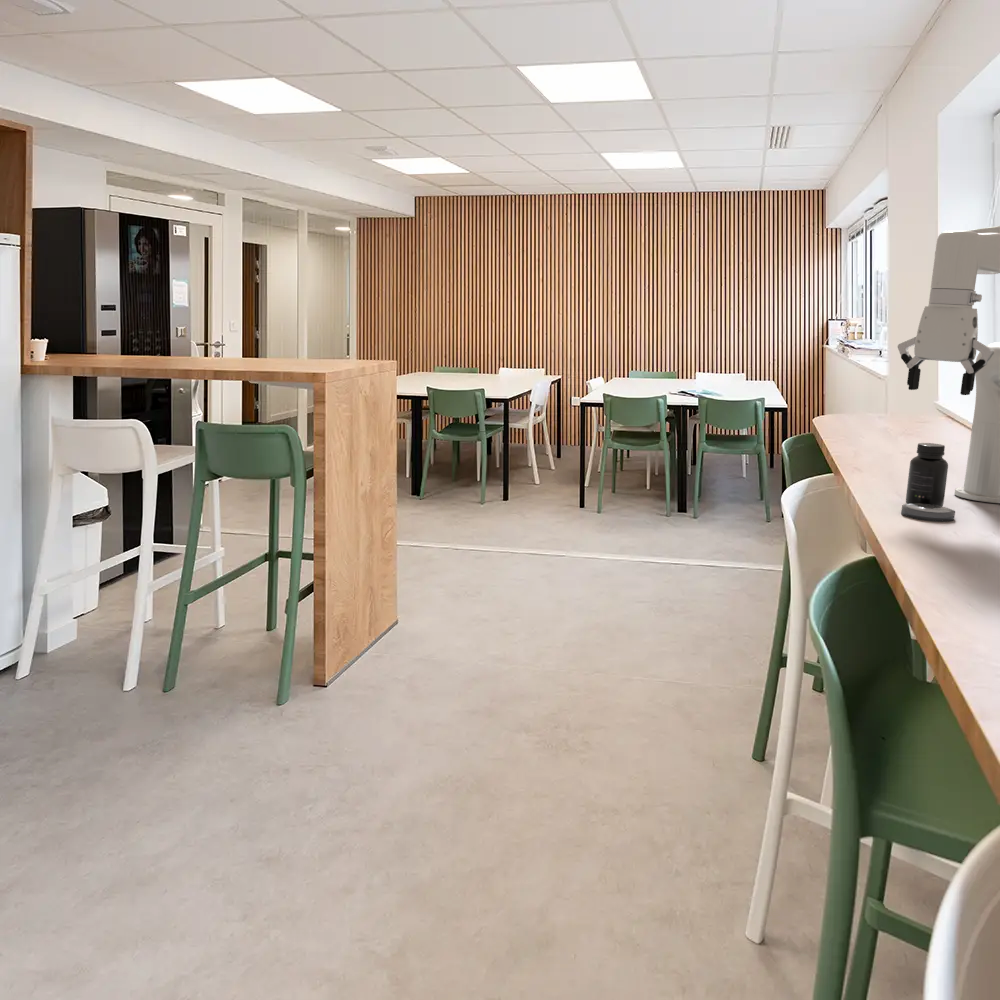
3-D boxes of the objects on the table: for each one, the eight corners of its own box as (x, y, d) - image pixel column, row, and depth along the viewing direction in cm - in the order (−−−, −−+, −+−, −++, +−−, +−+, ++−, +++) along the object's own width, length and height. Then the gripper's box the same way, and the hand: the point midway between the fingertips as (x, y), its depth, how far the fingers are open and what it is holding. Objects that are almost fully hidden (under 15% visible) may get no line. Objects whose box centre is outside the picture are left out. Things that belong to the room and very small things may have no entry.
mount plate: (912, 509, 192) (913, 500, 192) (961, 517, 186) (962, 509, 186) (893, 514, 186) (894, 506, 185) (943, 523, 180) (944, 515, 179)
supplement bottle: (911, 500, 201) (919, 440, 198) (947, 506, 196) (955, 445, 194) (899, 505, 195) (907, 443, 193) (936, 511, 191) (945, 448, 189)
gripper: (1007, 302, 185) (993, 396, 189) (912, 298, 197) (901, 387, 200) (993, 301, 180) (979, 397, 183) (896, 297, 191) (885, 388, 195)
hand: (938, 392), depth 192 cm, fingers open, 9 cm apart
